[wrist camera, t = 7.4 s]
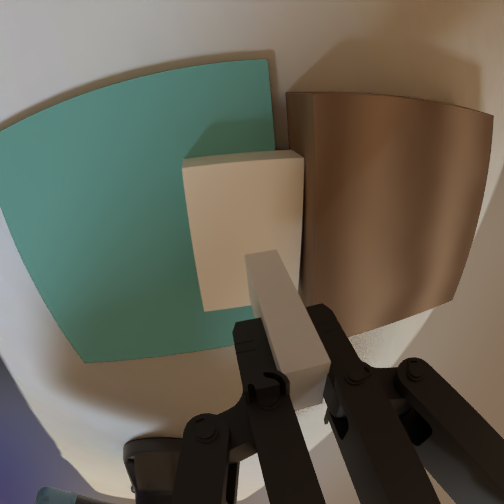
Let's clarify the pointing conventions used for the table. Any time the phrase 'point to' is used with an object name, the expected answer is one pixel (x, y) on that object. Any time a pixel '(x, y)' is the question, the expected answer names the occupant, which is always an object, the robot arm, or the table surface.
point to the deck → (386, 201)
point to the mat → (128, 205)
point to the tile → (242, 218)
